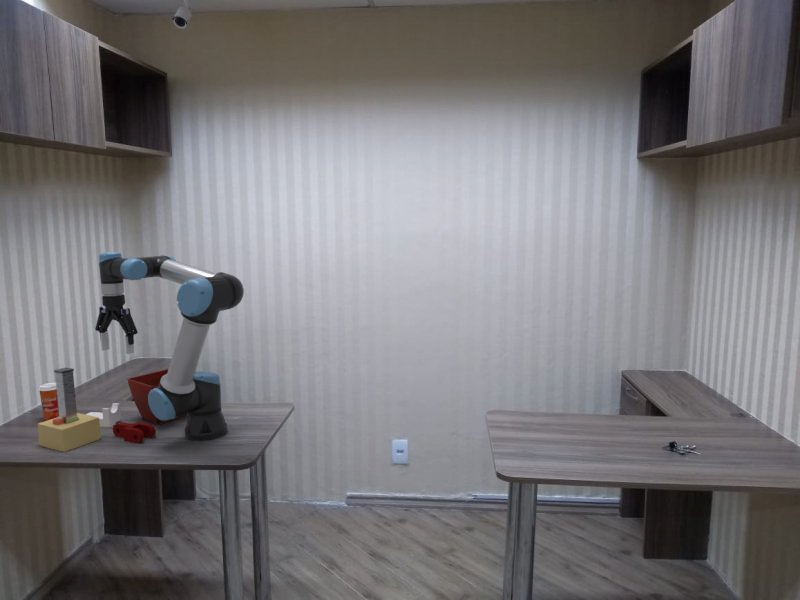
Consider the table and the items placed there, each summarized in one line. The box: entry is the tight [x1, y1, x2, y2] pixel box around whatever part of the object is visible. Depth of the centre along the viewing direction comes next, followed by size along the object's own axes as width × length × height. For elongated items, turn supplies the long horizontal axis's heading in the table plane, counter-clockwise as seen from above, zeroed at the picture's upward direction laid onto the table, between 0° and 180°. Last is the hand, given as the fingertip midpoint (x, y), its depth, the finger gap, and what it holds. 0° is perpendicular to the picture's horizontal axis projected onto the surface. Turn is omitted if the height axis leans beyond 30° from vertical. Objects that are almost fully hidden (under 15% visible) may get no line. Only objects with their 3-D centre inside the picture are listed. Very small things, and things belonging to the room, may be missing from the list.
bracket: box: [85, 402, 122, 428], centre depth 235 cm, size 13×7×8 cm, turn 81°
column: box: [53, 367, 79, 424], centre depth 214 cm, size 5×5×21 cm
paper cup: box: [38, 382, 59, 421], centre depth 241 cm, size 8×8×14 cm
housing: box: [37, 412, 102, 453], centre depth 216 cm, size 14×14×10 cm
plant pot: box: [127, 368, 189, 425], centre depth 241 cm, size 19×19×17 cm
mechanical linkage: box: [112, 421, 156, 444], centre depth 220 cm, size 16×7×5 cm, turn 67°
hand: (117, 351), depth 222 cm, fingers open, 13 cm apart
